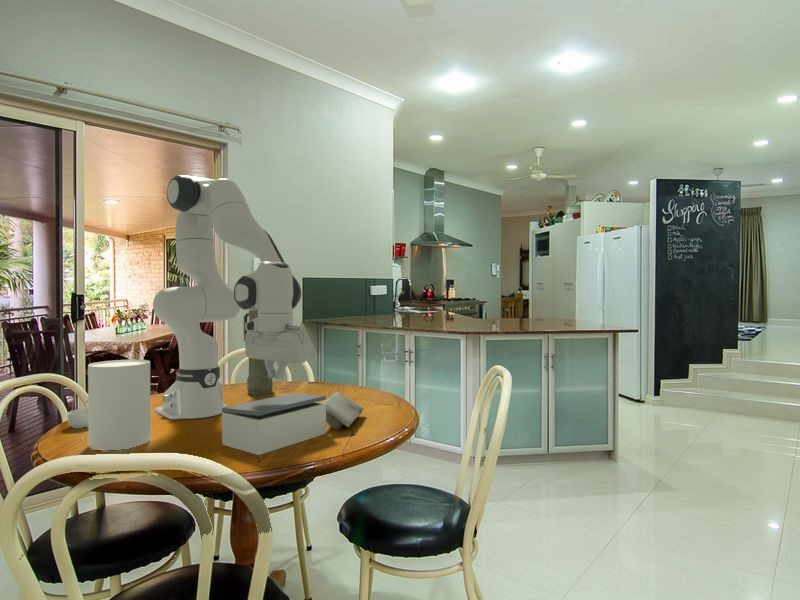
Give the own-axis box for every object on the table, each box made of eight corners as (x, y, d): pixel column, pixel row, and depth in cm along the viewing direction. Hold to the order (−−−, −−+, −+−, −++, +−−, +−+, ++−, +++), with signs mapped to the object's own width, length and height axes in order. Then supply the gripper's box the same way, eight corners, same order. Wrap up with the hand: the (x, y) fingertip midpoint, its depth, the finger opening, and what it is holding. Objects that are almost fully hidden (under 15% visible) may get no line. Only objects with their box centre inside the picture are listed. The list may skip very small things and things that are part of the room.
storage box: (222, 444, 124) (222, 412, 124) (290, 425, 142) (290, 397, 142) (258, 455, 116) (258, 420, 115) (326, 433, 133) (325, 403, 133)
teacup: (72, 435, 133) (72, 417, 133) (54, 429, 138) (54, 412, 138) (110, 426, 141) (110, 410, 141) (93, 422, 147) (93, 406, 147)
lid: (222, 411, 124) (221, 407, 124) (290, 397, 142) (289, 393, 142) (258, 415, 115) (258, 411, 116) (325, 399, 133) (325, 395, 133)
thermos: (272, 398, 179) (272, 300, 178) (240, 398, 179) (239, 300, 179) (279, 393, 188) (279, 300, 187) (248, 393, 188) (247, 300, 188)
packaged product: (356, 421, 152) (329, 402, 153) (365, 408, 151) (338, 389, 153) (341, 437, 134) (311, 416, 135) (351, 422, 134) (320, 401, 135)
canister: (137, 432, 135) (136, 358, 135) (160, 441, 126) (159, 362, 126) (80, 443, 125) (79, 363, 124) (100, 455, 116) (100, 368, 116)
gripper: (313, 325, 125) (313, 380, 125) (260, 322, 137) (260, 373, 137) (294, 326, 120) (294, 384, 120) (240, 323, 132) (240, 376, 132)
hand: (275, 378), depth 128 cm, fingers closed
